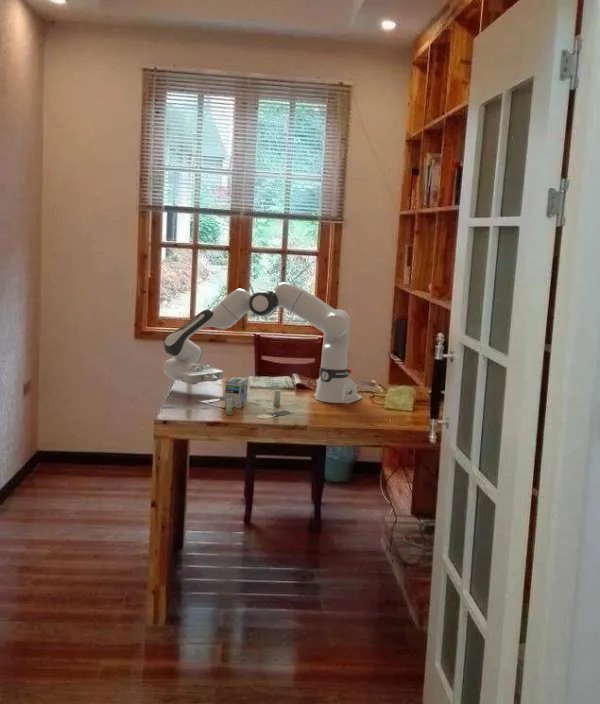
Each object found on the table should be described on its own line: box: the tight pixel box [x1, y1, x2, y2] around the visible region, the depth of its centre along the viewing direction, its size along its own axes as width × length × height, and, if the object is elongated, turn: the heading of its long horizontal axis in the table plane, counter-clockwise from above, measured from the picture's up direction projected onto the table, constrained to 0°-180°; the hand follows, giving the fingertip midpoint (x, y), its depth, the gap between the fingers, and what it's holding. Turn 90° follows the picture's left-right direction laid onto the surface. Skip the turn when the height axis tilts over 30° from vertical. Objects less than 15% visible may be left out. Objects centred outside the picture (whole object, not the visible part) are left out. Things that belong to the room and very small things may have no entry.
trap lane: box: [216, 389, 293, 417], centre depth 321 cm, size 30×38×6 cm
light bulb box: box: [224, 376, 249, 409], centre depth 323 cm, size 11×7×11 cm, turn 168°
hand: (215, 379), depth 330 cm, fingers closed
